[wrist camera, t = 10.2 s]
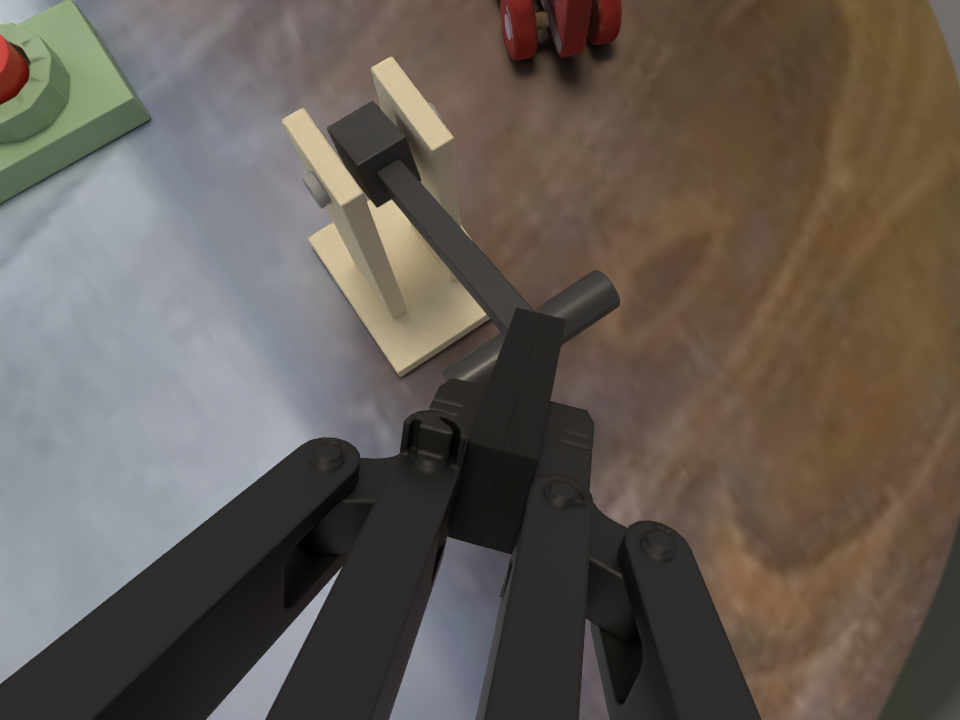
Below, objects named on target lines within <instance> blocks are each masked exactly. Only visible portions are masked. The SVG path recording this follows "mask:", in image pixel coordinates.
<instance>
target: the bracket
mask: <svg viewBox="0 0 960 720" xmlns="http://www.w3.org/2000/svg"><path fill="white" fill-rule="evenodd" d="M371 72H372V76H373V80H374V84H375V87H376V91H377V95H378V99H379V103H380V107H381V110H382V111H383V112H384V113H385V115H386V116H387V117H388V118H389V119H390V120H391V121H392V122H393V123H394V124H395V125H396V126H397V128H398V129H399V130H400V131H401V132H402V133H403V134H404V135H405V136H406V138H407V141H408V144H409V147H410V149H411V152H412V155H413V158H414V161H415V163H416V166H417V169H418V172H419V174H420V177H421V183H422V185H423V186H424V187H425V188H426V189H427V190H428V191H429V192H430V194H431V195H432V196H433V197H434V198H435V199H436V200H437V201H438V203H439V204H440V205H441V206H442V207H443V208H444V209H445V211H446V212H447V213H448V214H449V215H450V216H451V217H452V218H453V220H454V221H455V222H456V223H457V224H458V225H459V226H460V227H461V229H462V230H463V231H464V232H465V233H466V231H465V230H464V229H463V227H462V226H461V218H460V206H459V194H458V182H457V170H456V158H455V146H454V137H453V136H452V134H451V133H450V132H449V131H448V129H447V128H446V127H445V125H444V122H443V119H442V117H441V115H440V114H439V112H438V110H437V109H436V108H435V106H434V105H433V104H432V103H430V102H426V100H425V99H424V98H423V96H422V95H421V94H420V93H419V91H418V90H417V89H416V87H415V86H414V85H413V83H412V82H411V81H410V79H409V78H408V77H407V76H406V74H405V73H404V72H403V70H402V69H401V68H400V66H399V65H398V64H397V62H396V61H395V60H394V58H393V57H389V58H387V59H385V60H384V61H382V62H380V63H379V64H377V65H375V66H373V67H372V68H371ZM282 123H283V125H284V127H285V129H286V131H287V133H288V135H289V137H290V139H291V141H292V143H293V145H294V147H295V149H296V151H297V152H298V154H299V156H300V158H301V160H302V162H303V164H304V166H305V168H306V170H307V172H308V173H307V174H306V175H304V176H302V180H303V182H304V184H305V186H306V187H307V189H308V191H309V192H310V194H311V195H312V197H313V198H314V200H315V201H316V203H317V204H318V205H319V207H320V208H323V207H326V209H327V211H328V213H329V215H330V217H331V219H332V220H333V223H331V224H330V225H328V226H326V227H325V228H323V229H321V230H320V231H318V232H316V233H315V234H313V235H311V236H310V237H308V241H309V242H310V244H311V245H312V247H313V248H314V250H315V251H316V253H317V254H318V256H319V257H320V259H321V260H322V262H323V263H324V265H325V266H326V268H327V269H328V271H329V272H330V274H331V275H332V277H333V278H334V280H335V281H336V283H337V284H338V286H339V287H340V289H341V290H342V292H343V293H344V295H345V296H346V298H347V299H348V301H349V302H350V304H351V305H352V307H353V308H354V310H355V311H356V313H357V314H358V316H359V317H360V319H361V320H362V322H363V323H364V325H365V326H366V328H367V329H368V331H369V332H370V334H371V335H372V337H373V338H374V340H375V341H376V343H377V344H378V346H379V347H380V349H381V350H382V352H383V353H384V355H385V356H386V357H387V359H388V360H389V362H390V363H391V365H392V366H393V368H394V369H395V371H396V372H397V374H398V375H399V377H402V376H404V375H405V374H407V373H408V372H410V371H411V370H413V369H414V368H416V367H417V366H419V365H420V364H422V363H423V362H425V361H426V360H428V359H429V358H431V357H432V356H434V355H436V354H437V353H439V352H440V351H442V350H443V349H445V348H446V347H448V346H449V345H451V344H452V343H454V342H455V341H457V340H458V339H460V338H461V337H463V336H464V335H466V334H467V333H469V332H471V331H472V330H474V329H475V328H477V327H478V326H480V325H481V324H483V323H484V322H486V321H487V320H489V319H490V318H489V317H488V316H487V314H486V313H485V312H484V311H483V309H482V308H481V307H480V306H479V305H478V303H477V302H476V301H475V300H474V299H473V297H472V296H471V295H470V294H469V293H468V291H467V290H466V289H465V288H464V286H463V285H462V284H461V283H460V282H459V280H458V279H457V278H456V277H455V276H454V274H453V273H452V272H451V271H450V269H449V268H448V267H447V266H446V265H445V263H444V262H443V261H442V260H441V259H440V257H439V256H438V255H437V254H436V253H435V251H434V250H433V249H432V248H431V246H430V245H429V244H428V243H427V242H426V240H425V239H424V238H423V237H422V236H421V234H420V233H419V232H418V231H417V229H416V228H415V227H414V226H413V225H412V223H411V222H410V221H409V220H408V219H407V217H406V216H405V215H404V214H403V213H402V211H401V210H400V209H399V208H398V206H397V205H396V204H395V203H394V202H393V200H392V199H391V200H390V201H388V202H387V203H385V204H383V205H382V206H380V207H378V208H377V207H376V206H375V205H374V204H373V203H372V201H371V200H369V201H366V199H365V196H364V193H363V191H362V190H361V188H360V187H359V186H358V184H357V183H356V181H355V180H354V178H353V177H352V176H351V174H350V173H349V171H348V170H347V169H346V167H345V166H344V164H343V163H342V161H341V160H340V159H339V157H338V156H337V154H336V153H335V152H334V150H333V149H332V147H331V146H330V144H329V143H328V142H327V140H326V139H325V137H324V136H323V135H322V133H321V132H320V130H319V129H318V127H317V126H316V125H315V123H314V122H313V120H312V119H311V118H310V116H309V115H308V113H307V112H306V110H305V109H303V108H301V109H300V110H298V111H296V112H294V113H293V114H291V115H289V116H287V117H286V118H284V119H283V120H282ZM466 234H467V233H466ZM467 235H468V234H467ZM468 237H469V235H468ZM469 238H470V237H469ZM470 239H471V238H470ZM471 240H472V239H471Z"/></svg>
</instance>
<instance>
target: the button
mask: <svg viewBox="0 0 960 720" xmlns="http://www.w3.org/2000/svg"><path fill="white" fill-rule="evenodd" d="M28 79H29V67H28V64H27V62H26V60H25V59H24V57H23V56H22V55H21V54H20V53H19V52H18V51H17V50H16V49H15V48H14V47H13V46H12V45H11V44H10V43H9V42H8V41H7V40H6V39H5V38H4V37H3V36H2V35H0V105H1V104H3V103H5V102H7V101H9V100H11V99H12V98H14V97H16V96H17V95H18V94H19V92H20V91H21V90H22V88H23V87H24V86H25V84H26V83H27V82H28Z"/></svg>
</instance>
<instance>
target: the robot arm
mask: <svg viewBox="0 0 960 720" xmlns="http://www.w3.org/2000/svg"><path fill="white" fill-rule="evenodd" d="M565 321H566V319H563V318H558V317H554V316H550V315H546V314H542V313H538V312H534V311H529V310H525V309H521V308H517V307H516V309H515V312H514V315H513V317H512V320H511V323H510V326H509V328H508V331H507V334H506V336H505V339H504V342H503V345H502V347H501V350H500V353H499V356H498V358H497V361H496V364H495V366H494V369H493V372H492V375H491V377H490V380H489V383H488V385H487V386H483V385H479V384H475V383H471V382H467V381H463V380H459V379H455V378H452V379H450V380H449V381H447V382H446V383H444V384H443V385H441V386H440V387H439V389H438V391H437V393H436V395H435V397H434V400H433V401H432V403H431V405H430V407H429V410H426V411H419V412H416V413H414V414H412V415H410V416H409V417H408V418H407V419H406V420H405V421H404V426H403V434H402V442H401V449H400V454H398V455H396V456H393V457H389V458H380V459H369V458H360V454H359V452H358V451H357V449H356V447H354V446H353V445H352V444H350V443H349V442H347V441H344V440H341V439H338V438H325V437H322V438H318V439H313V440H310V441H308V442H306V443H304V444H303V445H301V446H300V447H298V448H297V449H296V450H295V451H293V452H292V453H291V454H290V455H288V456H287V457H286V458H284V459H283V460H282V461H281V462H279V463H278V464H277V465H276V466H274V467H273V468H272V469H271V470H269V471H268V472H267V473H266V474H264V475H263V476H262V477H261V478H259V479H258V480H257V481H256V482H254V483H253V484H252V485H250V486H249V487H248V488H247V489H245V490H244V491H243V492H242V493H240V494H239V495H238V496H237V497H235V498H234V499H233V500H232V501H230V502H229V503H228V504H227V505H225V506H224V507H223V508H222V509H220V510H219V511H218V512H217V513H215V514H214V515H213V516H211V517H210V518H209V519H208V520H206V521H205V522H204V523H203V524H201V525H200V526H199V527H198V528H196V529H195V530H194V531H193V532H191V533H190V534H189V535H188V536H186V537H185V538H184V539H183V540H181V541H180V542H179V543H177V544H176V545H175V546H174V547H172V548H171V549H170V550H169V551H167V552H166V553H165V554H164V555H162V556H161V557H160V558H159V559H157V560H156V561H155V562H154V563H152V564H151V565H150V566H149V567H147V568H146V569H145V570H144V571H142V572H141V573H140V574H138V575H137V576H136V577H135V578H133V579H132V580H131V581H130V582H128V583H127V584H126V585H125V586H123V587H122V588H121V589H120V590H118V591H117V592H116V593H115V594H113V595H112V596H111V597H110V598H108V599H107V600H106V601H104V602H103V603H102V604H101V605H99V606H98V607H97V608H96V609H94V610H93V611H92V612H91V613H89V614H88V615H87V616H86V617H84V618H83V619H82V620H81V621H79V622H78V623H77V624H76V625H74V626H73V627H72V628H71V629H69V630H68V631H67V632H65V633H64V634H63V635H62V636H60V637H59V638H58V639H57V640H55V641H54V642H53V643H52V644H50V645H49V646H48V647H47V648H45V649H44V650H43V651H42V652H40V653H39V654H38V655H37V656H35V657H34V658H33V659H31V660H30V661H29V662H28V663H26V664H25V665H24V666H23V667H21V668H20V669H19V670H18V671H16V672H15V673H14V674H13V675H11V676H10V677H9V678H8V679H6V680H5V681H4V682H3V683H1V684H0V720H206V719H207V718H208V717H209V716H210V714H211V713H212V712H213V711H214V710H215V709H216V708H217V707H218V705H219V704H220V703H221V702H222V701H223V700H224V699H225V698H226V696H227V695H228V694H229V693H230V692H231V691H232V690H233V689H234V687H235V686H236V685H237V684H238V683H239V682H240V681H241V680H242V678H243V677H244V676H245V675H246V674H247V673H248V672H249V671H250V669H251V668H252V667H253V666H254V665H255V664H256V663H257V662H258V660H259V659H260V658H261V657H262V656H263V655H264V654H265V653H266V651H267V650H268V649H269V648H270V647H271V646H272V645H273V644H274V642H275V641H276V640H277V639H278V638H279V637H280V636H281V635H282V634H283V632H284V631H285V630H286V629H287V628H288V627H289V626H290V625H291V623H292V622H293V621H294V620H295V619H296V618H297V617H298V616H299V614H300V613H301V612H302V611H303V610H304V609H305V608H306V607H307V605H308V604H309V603H310V602H311V601H312V600H313V599H314V598H315V596H316V595H317V594H318V593H319V592H320V591H321V590H322V589H323V587H324V586H325V585H326V584H327V583H328V582H329V581H330V580H331V578H332V577H333V576H334V575H335V574H336V573H337V572H338V571H339V569H340V568H341V567H342V566H343V567H342V569H341V571H340V572H339V574H338V576H337V578H336V580H335V582H334V584H333V586H332V588H331V590H330V592H329V594H328V596H327V598H326V600H325V602H324V604H323V606H322V608H321V610H320V612H319V614H318V616H317V618H316V620H315V622H314V624H313V626H312V628H311V630H310V632H309V634H308V636H307V638H306V640H305V642H304V644H303V646H302V648H301V650H300V652H299V654H298V656H297V658H296V660H295V662H294V664H293V666H292V668H291V670H290V672H289V674H288V676H287V678H286V680H285V681H284V683H283V685H282V687H281V689H280V691H279V693H278V695H277V697H276V699H275V701H274V703H273V705H272V707H271V709H270V711H269V713H268V715H267V717H266V719H265V720H389V718H390V715H391V712H392V709H393V706H394V703H395V700H396V697H397V694H398V691H399V688H400V685H401V681H402V678H403V675H404V672H405V669H406V666H407V663H408V660H409V657H410V654H411V651H412V648H413V645H414V642H415V639H416V636H417V633H418V630H419V627H420V624H421V621H422V618H423V615H424V612H425V609H426V606H427V603H428V600H429V597H430V594H431V591H432V588H433V585H434V582H435V579H436V576H437V573H438V570H439V567H440V564H441V561H442V558H443V554H444V549H445V544H446V539H447V536H448V537H450V538H454V539H457V540H461V541H465V542H468V543H472V544H475V545H479V546H483V547H487V548H490V549H494V550H497V551H501V552H505V553H508V554H512V556H511V559H510V563H509V567H508V570H507V574H506V577H505V581H504V585H503V588H502V592H501V595H500V597H502V598H501V602H500V607H499V612H498V616H497V621H496V626H495V630H494V635H493V640H492V645H491V649H490V654H489V659H488V663H487V668H486V673H485V677H484V682H483V687H482V692H481V696H480V701H479V706H478V710H477V715H476V720H579V707H580V693H581V678H582V663H583V649H584V634H585V619H588V620H589V621H591V633H592V638H593V642H594V647H595V652H596V657H597V661H598V666H599V671H600V676H601V681H602V685H603V690H604V695H605V700H606V704H607V709H608V714H609V719H610V720H761V717H760V715H759V713H758V710H757V708H756V705H755V703H754V700H753V698H752V696H751V693H750V691H749V688H748V686H747V684H746V681H745V679H744V676H743V674H742V671H741V669H740V667H739V664H738V662H737V659H736V657H735V654H734V652H733V650H732V647H731V645H730V642H729V640H728V638H727V635H726V633H725V630H724V628H723V625H722V623H721V621H720V618H719V616H718V613H717V611H716V608H715V606H714V604H713V601H712V599H711V596H710V594H709V591H708V589H707V587H706V584H705V582H704V579H703V577H702V575H701V572H700V570H699V567H698V565H697V562H696V560H695V558H694V555H693V553H692V550H691V548H690V547H689V545H688V544H687V542H686V540H685V539H684V538H683V537H682V536H681V535H680V534H678V533H677V532H676V531H675V530H674V529H672V528H670V527H668V526H666V525H664V524H662V523H658V522H653V521H638V522H636V523H634V524H632V525H630V526H629V527H628V528H626V527H624V526H622V525H620V524H619V523H617V522H615V521H613V520H612V519H610V518H608V517H607V516H605V515H604V514H603V513H602V512H601V511H600V510H599V509H598V508H597V507H596V505H595V504H594V503H593V499H592V495H591V493H590V490H589V487H590V474H591V461H592V448H593V435H594V423H593V421H592V419H591V417H590V415H589V413H588V411H587V410H583V409H579V408H575V407H571V406H567V405H563V404H559V403H555V402H551V401H550V399H551V394H552V388H553V383H554V378H555V373H556V368H557V363H558V357H559V352H560V347H561V342H562V337H563V332H564V326H565ZM448 533H449V534H448Z"/></svg>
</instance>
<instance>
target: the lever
mask: <svg viewBox="0 0 960 720" xmlns="http://www.w3.org/2000/svg"><path fill="white" fill-rule="evenodd" d="M327 131H328V133H329V135H330V137H331V139H332V141H333V143H334V145H335V147H336V149H337V151H338V153H339V155H340V157H341V159H342V161H343V163H344V165H345V167H346V169H347V170H348V171H349V173H350V174H351V176H352V177H353V178H354V180H355V181H356V183H357V184H358V185H359V186H360V188H361V189H362V190H363V191H364V193H365V194H366V195H367V196H368V198H369V199H370V200H371V201H372V203H373V204H374V205H375V206H376V207H377V208H378V207H380V206H382V205H383V204H385V203H387V202H388V201H390V200H391V199H392V200H393V202H394V203H395V204H396V205H397V206H398V208H399V209H400V210H401V211H402V213H403V214H404V215H405V216H406V217H407V219H408V220H409V221H410V222H411V223H412V225H413V226H414V227H415V228H416V229H417V231H418V232H419V233H420V234H421V236H422V237H423V238H424V239H425V240H426V242H427V243H428V244H429V245H430V246H431V248H432V249H433V250H434V251H435V253H436V254H437V255H438V256H439V257H440V259H441V260H442V261H443V262H444V263H445V265H446V266H447V267H448V268H449V269H450V271H451V272H452V273H453V274H454V276H455V277H456V278H457V279H458V280H459V282H460V283H461V284H462V285H463V286H464V288H465V289H466V290H467V291H468V293H469V294H470V295H471V296H472V297H473V299H474V300H475V301H476V302H477V303H478V305H479V306H480V307H481V308H482V309H483V311H484V312H485V313H486V314H487V316H488V317H489V318H490V319H491V320H492V322H493V323H494V324H495V325H496V326H497V328H498V329H499V330H500V331H501V332H500V333H498V334H497V335H495V336H494V337H492V338H491V339H489V340H488V341H486V342H485V343H483V344H482V345H480V346H479V347H477V348H476V349H474V350H473V351H471V352H470V353H468V354H467V355H465V356H464V357H462V358H461V359H459V360H458V361H456V362H455V363H453V364H452V365H450V366H448V367H447V368H445V369H444V370H443V371H442V374H443V377H444V378H445V380H446V382H447V381H449V380H450V379H452V378H455V379H459V380H463V381H467V382H471V383H475V384H479V385H483V386H487V385H488V383H489V380H490V377H491V375H492V372H493V369H494V366H495V364H496V361H497V358H498V356H499V353H500V350H501V347H502V345H503V342H504V339H505V336H506V334H507V331H508V328H509V326H510V323H511V320H512V317H513V315H514V312H515V309H516V307H517V308H521V309H525V310H529V311H534V312H538V313H542V314H546V315H550V316H554V317H558V318H563V319H566V321H565V326H564V332H563V337H562V342H561V345H563V344H564V343H566V342H567V341H569V340H570V339H572V338H573V337H575V336H576V335H578V334H579V333H581V332H582V331H584V330H585V329H587V328H588V327H590V326H591V325H592V324H594V323H595V322H597V321H598V320H600V319H601V318H603V317H604V316H606V315H607V314H609V313H610V312H612V311H613V310H615V309H616V308H618V307H619V305H620V299H619V295H618V293H617V291H616V289H615V287H614V285H613V284H612V282H611V281H610V280H609V279H608V278H607V277H606V276H605V275H604V274H603V273H602V272H600V271H598V270H594V271H592V272H590V273H589V274H587V275H586V276H584V277H583V278H581V279H580V280H578V281H577V282H575V283H574V284H572V285H571V286H569V287H568V288H566V289H565V290H563V291H562V292H560V293H559V294H557V295H556V296H554V297H553V298H551V299H550V300H548V301H547V302H545V303H544V304H542V305H541V306H539V307H538V308H536V309H535V310H533V309H532V308H531V307H530V306H529V304H528V303H527V302H526V301H525V300H524V299H523V298H522V296H521V295H520V294H519V293H518V292H517V291H516V290H515V289H514V287H513V286H512V285H511V284H510V283H509V282H508V281H507V280H506V278H505V277H504V276H503V275H502V274H501V273H500V272H499V270H498V269H497V268H496V267H495V266H494V265H493V264H492V263H491V261H490V260H489V259H488V258H487V257H486V256H485V255H484V253H483V252H482V251H481V250H480V249H479V248H478V247H477V246H476V244H475V243H474V242H473V241H472V240H471V239H470V238H469V237H468V235H467V234H466V233H465V232H464V231H463V230H462V229H461V227H460V226H459V225H458V224H457V223H456V222H455V221H454V220H453V218H452V217H451V216H450V215H449V214H448V213H447V212H446V211H445V209H444V208H443V207H442V206H441V205H440V204H439V203H438V201H437V200H436V199H435V198H434V197H433V196H432V195H431V194H430V192H429V191H428V190H427V189H426V188H425V187H424V186H423V185H422V183H421V177H420V174H419V172H418V169H417V166H416V163H415V161H414V158H413V155H412V152H411V149H410V147H409V144H408V141H407V138H406V136H405V135H404V134H403V133H402V132H401V131H400V130H399V129H398V128H397V126H396V125H395V124H394V123H393V122H392V121H391V120H390V119H389V118H388V117H387V116H386V115H385V113H384V112H383V111H382V110H381V109H380V108H379V107H378V106H377V105H376V104H375V103H374V102H373V101H371V102H370V103H368V104H366V105H365V106H363V107H361V108H359V109H358V110H356V111H354V112H353V113H351V114H349V115H347V116H346V117H344V118H342V119H341V120H339V121H337V122H336V123H334V124H332V125H330V126H329V127H327Z"/></svg>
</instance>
